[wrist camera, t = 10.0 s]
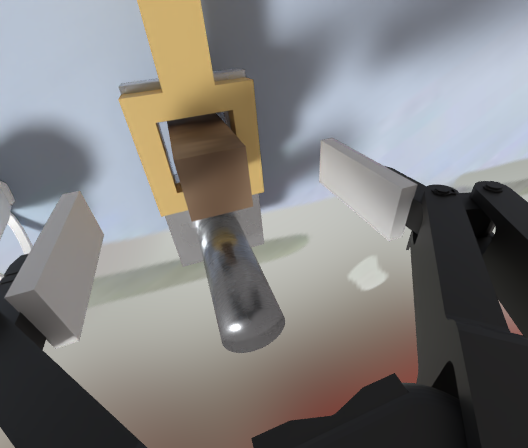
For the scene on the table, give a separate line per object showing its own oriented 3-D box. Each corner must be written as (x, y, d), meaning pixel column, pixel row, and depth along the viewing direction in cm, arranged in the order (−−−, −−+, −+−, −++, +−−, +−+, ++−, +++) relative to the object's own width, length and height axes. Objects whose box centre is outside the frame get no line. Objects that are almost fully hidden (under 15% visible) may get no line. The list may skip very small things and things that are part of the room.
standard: (125, 78, 23) (80, 130, 9) (227, 65, 25) (323, 90, 11) (179, 238, 33) (198, 382, 19) (249, 219, 35) (314, 338, 21)
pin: (176, 151, 28) (191, 221, 17) (165, 110, 25) (173, 160, 14) (215, 144, 29) (253, 206, 18) (207, 103, 26) (245, 146, 15)
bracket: (67, -97, 17) (16, -177, 11) (205, -96, 19) (229, -164, 13) (159, 178, 29) (161, 216, 22) (241, 161, 31) (264, 192, 24)
